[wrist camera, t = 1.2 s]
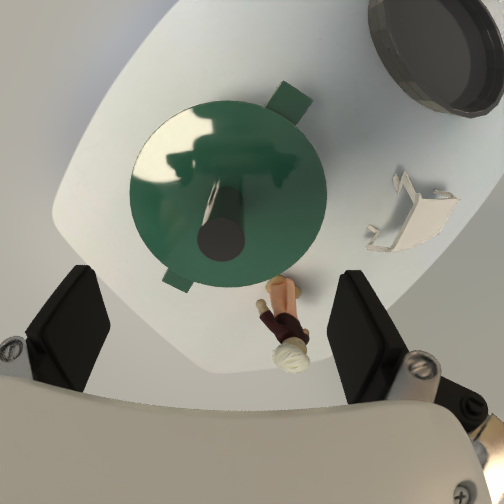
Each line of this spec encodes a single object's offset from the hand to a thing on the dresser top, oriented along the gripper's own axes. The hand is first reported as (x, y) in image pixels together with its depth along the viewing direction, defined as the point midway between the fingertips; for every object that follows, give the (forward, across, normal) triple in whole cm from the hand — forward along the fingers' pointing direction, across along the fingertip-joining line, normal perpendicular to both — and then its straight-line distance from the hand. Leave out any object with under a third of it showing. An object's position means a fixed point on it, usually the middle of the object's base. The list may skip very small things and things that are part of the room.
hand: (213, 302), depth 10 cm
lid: (+10, 0, 0) cm, 10 cm away
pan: (+20, -22, -19) cm, 35 cm away
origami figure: (+20, -19, +2) cm, 28 cm away
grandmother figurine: (+20, -6, +13) cm, 25 cm away
